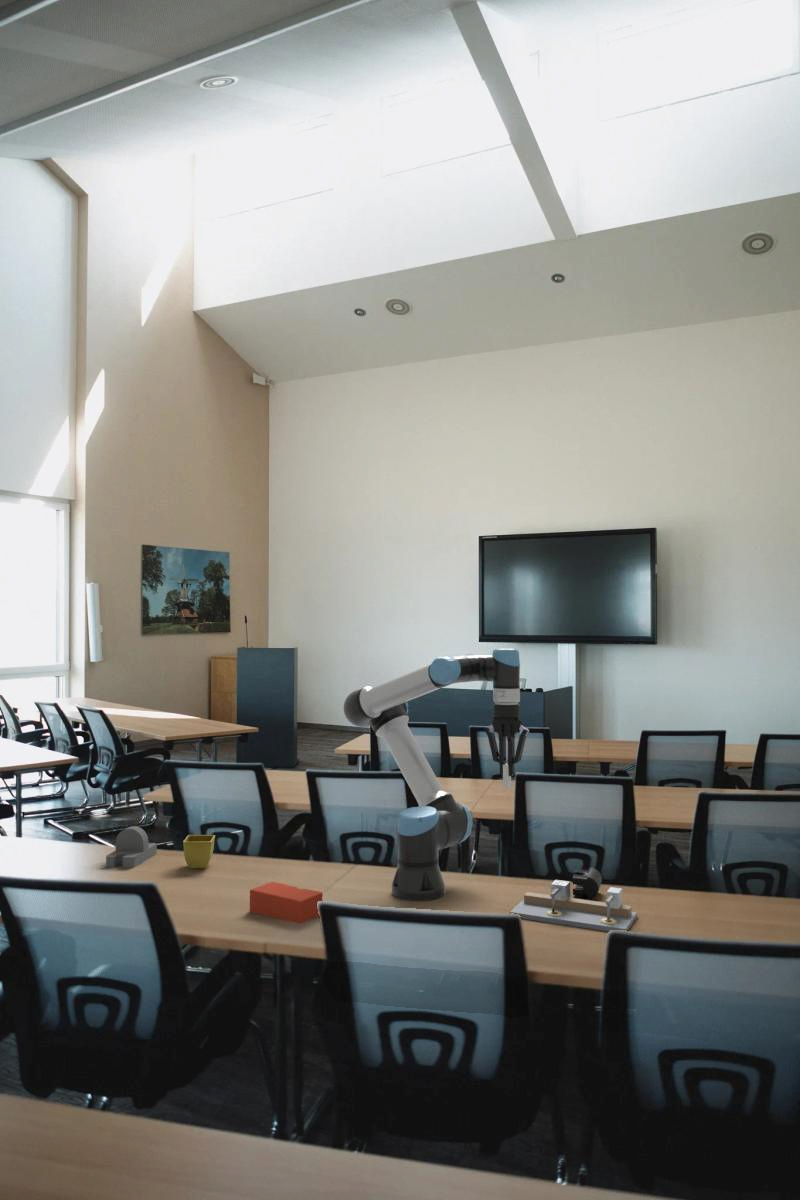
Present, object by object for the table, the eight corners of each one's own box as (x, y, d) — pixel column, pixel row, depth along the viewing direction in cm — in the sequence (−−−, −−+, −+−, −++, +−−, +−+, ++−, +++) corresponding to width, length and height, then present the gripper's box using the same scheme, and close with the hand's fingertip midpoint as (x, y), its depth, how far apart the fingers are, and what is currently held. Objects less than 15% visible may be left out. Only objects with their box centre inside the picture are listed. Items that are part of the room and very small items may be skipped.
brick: (249, 912, 235) (249, 889, 235) (272, 903, 242) (272, 881, 243) (300, 924, 225) (300, 901, 225) (323, 915, 232) (323, 892, 233)
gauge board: (509, 916, 230) (509, 888, 230) (526, 901, 242) (526, 874, 243) (625, 933, 217) (625, 904, 217) (637, 916, 229) (636, 888, 229)
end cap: (598, 902, 241) (598, 877, 241) (572, 900, 243) (572, 875, 243) (602, 892, 251) (601, 868, 251) (576, 890, 253) (576, 866, 253)
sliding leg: (544, 911, 228) (544, 890, 228) (555, 900, 237) (555, 879, 238) (559, 914, 226) (559, 892, 227) (570, 902, 236) (570, 881, 236)
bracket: (157, 854, 295) (157, 821, 295) (133, 869, 277) (133, 834, 277) (130, 853, 296) (130, 820, 296) (104, 867, 278) (104, 833, 279)
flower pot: (215, 862, 283) (215, 834, 283) (211, 870, 274) (211, 841, 274) (187, 863, 282) (187, 835, 283) (182, 870, 274) (182, 841, 274)
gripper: (480, 703, 248) (480, 787, 247) (524, 705, 242) (525, 791, 241) (489, 701, 254) (489, 783, 254) (532, 703, 249) (533, 786, 248)
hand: (507, 787), depth 248 cm, fingers closed
